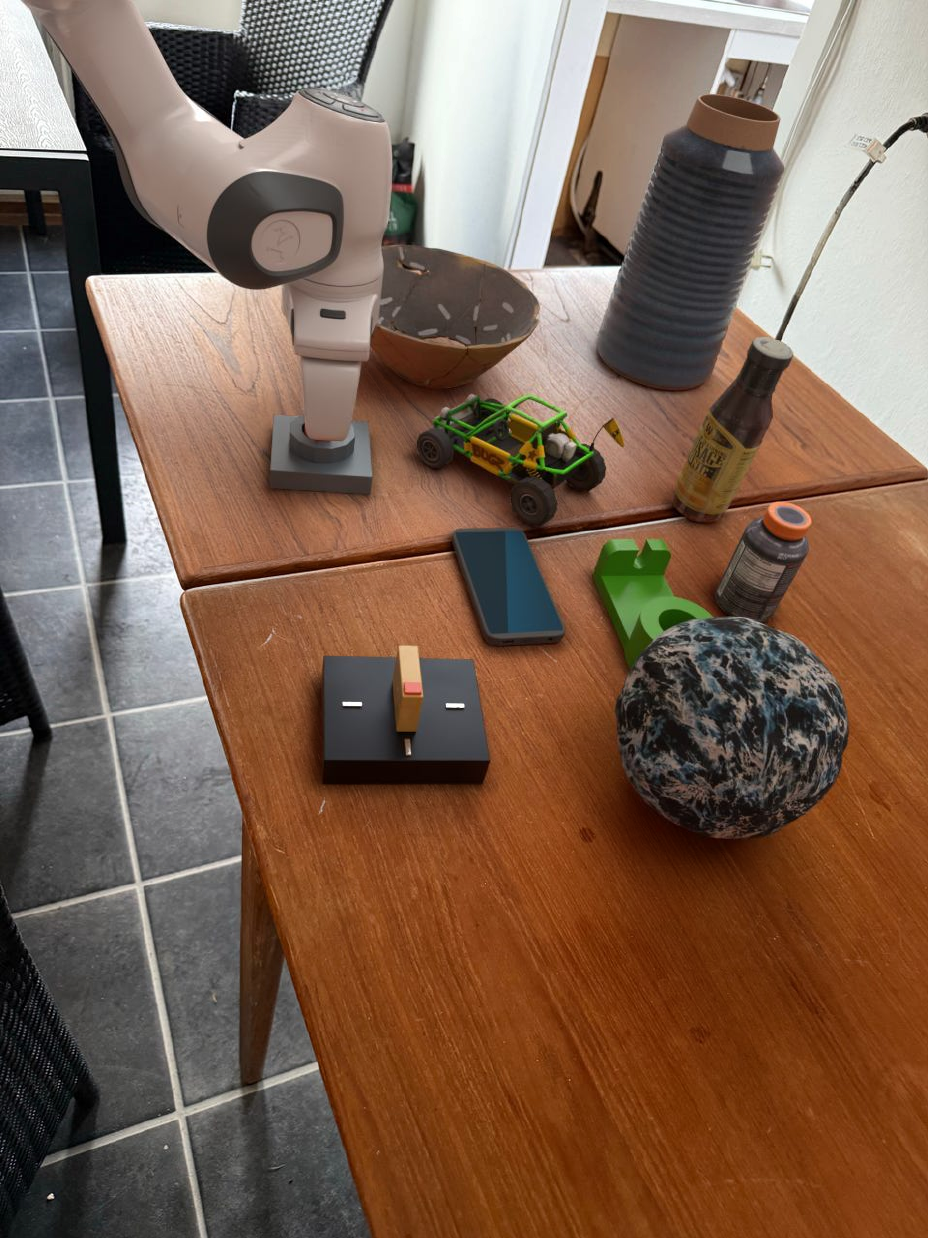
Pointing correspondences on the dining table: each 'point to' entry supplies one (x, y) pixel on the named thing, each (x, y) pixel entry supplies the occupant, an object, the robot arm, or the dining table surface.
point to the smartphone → (507, 587)
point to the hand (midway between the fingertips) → (323, 427)
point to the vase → (692, 244)
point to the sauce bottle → (731, 434)
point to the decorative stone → (730, 727)
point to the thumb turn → (407, 689)
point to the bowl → (448, 315)
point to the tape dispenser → (640, 593)
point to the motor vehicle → (517, 451)
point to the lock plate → (366, 724)
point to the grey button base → (319, 459)
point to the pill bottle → (764, 563)
